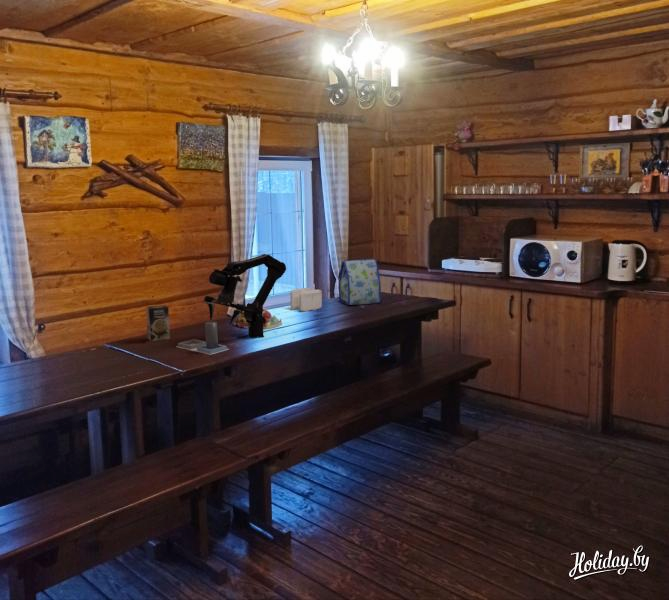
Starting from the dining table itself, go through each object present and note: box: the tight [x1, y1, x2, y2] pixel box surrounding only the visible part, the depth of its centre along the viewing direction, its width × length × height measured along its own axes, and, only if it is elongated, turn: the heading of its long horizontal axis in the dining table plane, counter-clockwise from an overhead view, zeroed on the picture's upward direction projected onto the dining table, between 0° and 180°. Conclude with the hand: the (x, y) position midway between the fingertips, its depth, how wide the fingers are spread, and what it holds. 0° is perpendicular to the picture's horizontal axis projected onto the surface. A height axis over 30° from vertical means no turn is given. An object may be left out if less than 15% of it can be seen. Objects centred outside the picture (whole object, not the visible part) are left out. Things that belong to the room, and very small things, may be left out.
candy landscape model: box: [233, 306, 283, 331], centre depth 349 cm, size 25×24×9 cm
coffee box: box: [146, 304, 171, 342], centre depth 316 cm, size 9×6×16 cm
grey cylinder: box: [204, 321, 219, 350], centre depth 293 cm, size 5×5×12 cm
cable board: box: [175, 338, 230, 357], centre depth 298 cm, size 23×11×2 cm, turn 52°
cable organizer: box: [289, 287, 323, 313], centre depth 384 cm, size 15×11×12 cm
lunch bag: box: [338, 258, 382, 306], centre depth 401 cm, size 22×17×26 cm
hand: (220, 322), depth 308 cm, fingers open, 9 cm apart
